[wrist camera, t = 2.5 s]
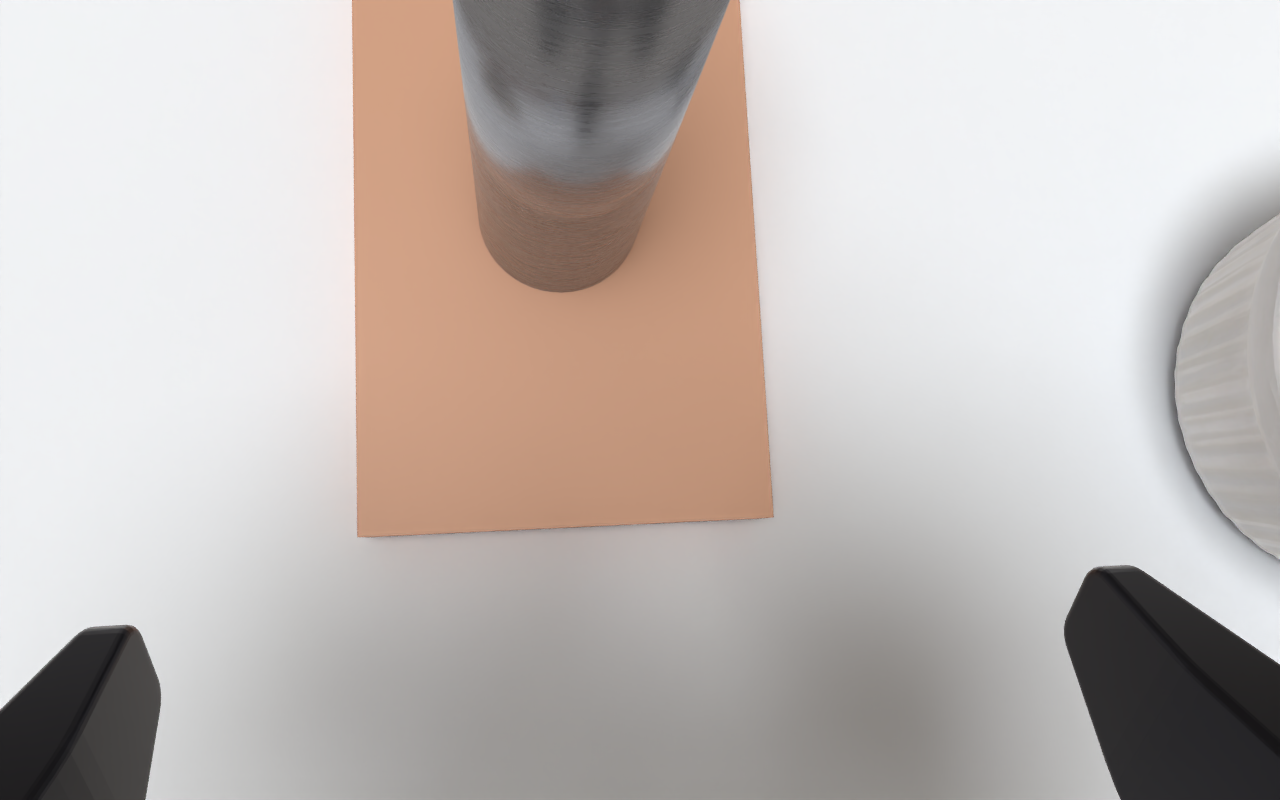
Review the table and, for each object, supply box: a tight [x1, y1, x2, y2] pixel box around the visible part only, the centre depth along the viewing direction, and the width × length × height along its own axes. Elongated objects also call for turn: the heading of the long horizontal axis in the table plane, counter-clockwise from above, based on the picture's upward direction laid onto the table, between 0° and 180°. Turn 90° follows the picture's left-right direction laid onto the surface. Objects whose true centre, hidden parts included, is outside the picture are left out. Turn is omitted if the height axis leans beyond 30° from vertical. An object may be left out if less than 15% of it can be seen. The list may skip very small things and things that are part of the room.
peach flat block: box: [352, 0, 774, 537], centre depth 23 cm, size 14×9×2 cm, turn 3°
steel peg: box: [453, 0, 730, 293], centre depth 16 cm, size 4×4×12 cm
